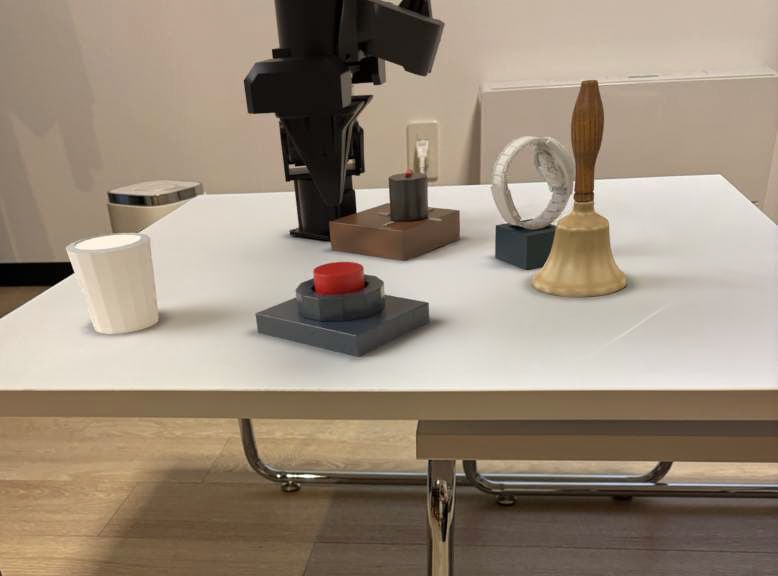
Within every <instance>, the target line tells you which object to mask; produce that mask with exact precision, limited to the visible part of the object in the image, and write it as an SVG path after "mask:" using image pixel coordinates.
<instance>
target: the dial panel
mask: <svg viewBox="0 0 778 576" xmlns="http://www.w3.org/2000/svg"><path fill="white" fill-rule="evenodd" d="M329 227H330V239H331V240H330V249H331V251H332V252H340V253H347V254H354V255H360V256H367V257H374V258H381V259H387V260H394V261H401V262H406V261H408V260H411V259H413V258H416V257H418V256H421V255H424V254H426V253H428V252H431V251H433V250H436V249H438V248H441V247H443V246H446V245H448V244H451V243H453V242H456V241H458V240H460V239H461V212H460V209H452V208H451V209H450V208H441V207H432V206H428V217H427V218H424V219H421V220H416V221H396V220H392V219H391V218H390V202H386V203H383V204H380V205H377V206H374V207H370V208H367V209H364V210H361V211H359V212H358V211H357V213H355V214H352V215H349V216H346V217H343V218H339V219H336V220H333V221H330V222H329Z"/></svg>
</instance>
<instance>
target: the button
mask: <svg viewBox="0 0 778 576" xmlns="http://www.w3.org/2000/svg"><path fill="white" fill-rule="evenodd" d="M312 274H313V278H314V285H315V292H316V293H322V294H345V293H351V292H357V291H359V290H362V289H364V288H365V282H364V274H365V270H364V266H363V264H362V263H358V262H353V261H335V262H328V263H324V264H321V265H318V266H316V267H315V268H314V269H313V270H312Z"/></svg>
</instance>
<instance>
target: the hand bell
mask: <svg viewBox="0 0 778 576" xmlns="http://www.w3.org/2000/svg"><path fill="white" fill-rule="evenodd" d="M604 128H605V112H604V105H603V100H602V98H601V92H600V87H599V82H598V80H597V79H589V80H587V79H586V80H582V81H581V83H580V87H579V92H578V95H577V98H576V101H575V104H574V107H573V109H572V115H571V124H570V142H571V149H572V154H573V159H574V163H575V166H576V175H575V181H574V186H573V200H574V201H573V207H572V211H571V212H570V213H569V214H566V216H564V217H561V218H560V219H559V220H557V222H556V225H555V226H556V230H555V236H554V241H553V245H552V249H551V252H550V255H549V257H548V259H547V261H546V263H545V264H544V266H542V267H541V269H539V271H537V272H536V273H535V274H534V275H533V278H532V280H531V286H532V287H533V288H534V289H535V290H536V291H538V292H540V293H543V294H546V295H551V296H555V297H556V296H557V297H563V298H590V297H591V298H592V297H599V296H606V295H610V294H613V293H616V292H619V291H620V290H622V289H624V288H625V287H626V286H627V284H628V279H627V277H626V274H625V273H624V271H623V270H622V269H620V268H619V266H618V264H617V263H616V261H615V258H614V255H613V250H612V246H611V235H610V222H609V219H608V218H607V217H605V216H603V215H601V214H599V213H598V212H596V210H595V192H594V191H595V169H596V162H597V159H598V156H599V153H600V150H601V147H602V142H603V138H604V137H603V136H604V130H605V129H604Z"/></svg>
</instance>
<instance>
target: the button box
mask: <svg viewBox="0 0 778 576" xmlns="http://www.w3.org/2000/svg"><path fill="white" fill-rule="evenodd" d="M364 282H365V288H364V289H362V290H359V291H357V292H351V293H345V294H322V293H316V292H315V285H314V277H313V278H311V279H308V280H305V281H302V282H300V283H299V285H298V286H296V287H295V297H293V298H291V299H288V300H286V301H283V302H281V303H277V304H274V305H273V306H271V307H270V306H269V307H268V308H265V309H263V310H260V311H258V312H256V313H254V315H255V322H256V329H257V333H258V334H262V335H265V336H270V337H272V338H278V339H281V340H285V341H289V342H290V341H291V342H294V343H298V344H302V345H307V346H311V347H315V348H320V349H322V350H326V351H327V350H328V351H332V352H336V353H340V354H345V355H348V356H351V357H356V358H359V357H362V356H365V355H366V354H368V353H370V352H372V351H374V350H376V349H378V348H380V347H382V346H384V345H386V344H389V343H391V342H392V341H395V340H397V339H398V338H400V337H403V336H405V335H406V334H409V333H411V332H413V331H415V330H417V329H419V328H421V327H423V326H425V325H427V324H429V323H430V303H429V301H428V302H427V301H424V300H417V299H412V298H405V297H400V296H394V295H390V294H385V281H384V280H382V279H381V278H379V277H378V276H376V275H371V274H365V273H364Z"/></svg>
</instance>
